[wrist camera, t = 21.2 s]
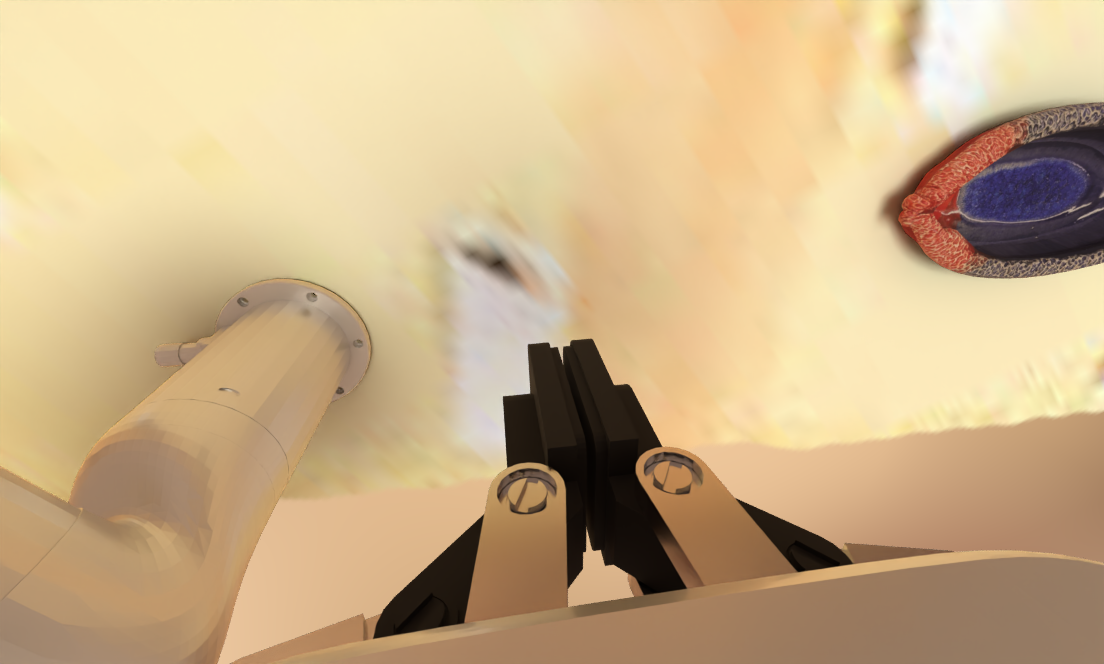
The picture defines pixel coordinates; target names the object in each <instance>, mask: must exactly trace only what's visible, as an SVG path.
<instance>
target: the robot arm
mask: <svg viewBox="0 0 1104 664" xmlns="http://www.w3.org/2000/svg"><path fill="white" fill-rule="evenodd" d="M313 293H315V294H316V295H317V296H315V295H313ZM246 299H247V300H246ZM359 340H361V341H359ZM370 355H371V345H370V340H369V335H368V333H367V330H366V328H365V325H364V323H363V322H362V320H361V319H360V317H359V316H358V314H357V313H356V312H355V311H354V310H353V309H352V308H351V307H350V306H349V304H348V303H346V302H345V301H344V300H342V299H341V298H340V297H338V296H337V295H336V294H334V293H332V292H330V291H328V290H327V289H325V288H323V287H320V286H318V285H315V284H312V283H309V282H305V281H300V280H294V279H272V280H266V281H261V282H258V283H255V284H253V285H250V286H248V287H246V288H245V289H243V290H242V291H240V292H238V293H237V294H236V295H235V296H233V297H232V298H231V299H230V300H228V302H227V303H226V304H225V306H224V307H223V308H222V310H221V311H220V313H219V316H218V318H217V321H216V326H215V334H214V335H212V336H211V337H203V338H201V339H199V340H198V341H197V343H173V344H161V345H159V346H158V347H157V348H156V350H155V360H156V362H157V364H158V365H159V366H161V367H175V366H183V367H182V368H181V369H179V370H178V371H177V372H176V373H175V374H174V375H172V376H171V377H170V378H169V379H168V380H167V381H165V382H164V383H163V384H162V385H161V386H160V387H158V388H157V389H156V390H155V391H154V392H153V393H151V394H150V395H149V396H148V397H147V398H146V399H144V400H143V401H142V402H141V403H140V404H139V405H137V406H136V407H135V408H134V409H133V410H132V411H130V412H129V413H128V414H127V415H126V416H124V417H123V418H122V419H121V420H120V421H118V422H117V423H116V424H115V425H114V426H113V427H111V428H110V429H109V430H108V431H107V432H106V433H105V434H104V435H103V436H102V437H101V438H100V439H99V440H98V442H97V443H96V444H95V445H94V447H93V448H92V449H91V451H90V452H89V454H88V455H87V456H86V458H85V460H84V462H83V464H82V466H81V468H80V470H79V472H78V474H77V476H76V479H75V481H74V484H73V488H72V491H71V495H70V498H69V502H68V503H67V502H66V501H64V500H62V499H60V498H58V497H56V496H54V495H53V494H51V493H49V492H47V491H45V490H43V489H42V488H40V487H38V486H36V485H34V484H32V483H31V482H29V481H27V480H25V479H23V478H21V477H20V476H18V475H16V474H14V473H12V472H10V471H9V470H7V469H5V468H3V467H1V466H0V664H217V663H218V660H219V657H220V654H221V651H222V648H223V645H224V642H225V639H226V635H227V631H228V628H229V624H230V621H231V617H232V613H233V609H234V606H235V602H236V599H237V595H238V592H239V589H240V586H241V583H242V580H243V577H244V574H245V571H246V569H247V566H248V563H249V561H250V558H251V556H252V554H253V552H254V549H255V547H256V545H257V543H258V540H259V538H260V536H261V534H262V532H263V530H264V528H265V526H266V524H267V522H268V520H269V518H270V516H271V514H272V512H273V510H274V508H275V506H276V504H277V502H278V500H279V498H280V496H281V494H282V492H283V491H284V489H285V487H286V485H287V483H288V481H289V479H290V477H291V476H292V474H293V472H294V470H295V468H296V466H297V464H298V462H299V460H300V458H301V457H302V455H303V453H304V451H305V449H306V447H307V445H308V443H309V441H310V440H311V438H312V436H313V434H314V432H315V430H316V428H317V426H318V424H319V422H320V421H321V419H322V417H323V415H324V413H325V411H326V409H327V407H328V405H329V403H330V402H333V401H336V400H338V399H340V398H342V397H344V396H345V395H347V394H349V393H350V392H351V391H352V390H353V389H354V388H355V387H357V385H358V384H359V383H360V381H361V380H362V378H363V377H364V375H365V372H366V370H367V368H368V365H369V361H370ZM528 360H529V377H530V394H523V395H513V396H503V406H504V422H505V438H506V454H507V469H505V470H504V471H502V472H501V473H499V474H498V475H497V476H496V478H495V479H494V480H493V481H492V483H491V486H490V489H489V492H488V498H487V503H486V508H485V514H484V515H483V516H482V517H481V518H479V519H478V520H477V521H476V522H475V523H474V524H473V525H472V526H471V527H470V528H469V529H468V530H466V531H465V532H464V533H463V534H462V535H461V536H460V537H459V538H458V539H457V540H456V541H455V542H454V543H452V544H451V545H450V546H449V547H448V548H447V549H446V550H445V551H444V552H443V553H442V554H441V555H440V556H439V557H437V558H436V559H435V560H434V561H433V562H432V563H431V564H430V565H429V566H428V567H427V568H426V569H424V570H423V571H422V572H421V573H420V574H419V575H418V576H417V577H416V578H415V579H414V580H412V582H410V583H409V584H408V585H407V586H406V587H405V588H404V589H403V590H402V591H401V592H400V593H398V594H397V595H396V596H395V597H394V598H393V599H392V601H391V602H390V603H389V604H388V605H387V606H386V608H385V609H384V610H383V612H382V614H379V615H376V616H374V617H371V618H368V619H366V620H365V618H364V615H363V614H360V615H357V616H355V617H352V618H349V619H347V620H344V621H341V622H338V623H336V624H333V625H330V626H327V627H325V628H322V629H319V630H317V631H314V632H311V633H308V634H306V635H303V636H300V637H297V638H295V639H292V640H289V641H287V642H284V643H281V644H278V645H275V646H273V647H270V648H267V649H264V650H262V651H259V652H256V653H254V654H251V655H248V656H245V657H243V658H240V659H238V660H236V661H234V662H232V663H230V664H1104V563H1102V562H1098V561H1093V560H1087V559H1082V558H1077V557H1071V556H1065V555H1060V554H1052V553H1039V552H1028V551H1017V550H995V551H994V550H989V551H987V550H986V551H984V550H982V551H964V552H953V551H948V550H933V549H920V548H906V547H892V546H878V545H865V544H851V543H844V546H843V548H842V549H839V548H838V547H836V546H835V545H834V544H833V543H831V542H829V541H827V540H826V539H824V538H822V537H820V536H818V535H816V534H814V533H812V532H809V531H807V530H805V529H802V528H800V527H798V526H796V525H794V524H792V523H789V522H787V521H785V520H783V519H780V518H778V517H776V516H774V515H772V514H769V513H767V512H765V511H763V510H760V509H758V508H756V507H754V506H752V505H749V504H747V503H745V502H742V501H740V500H738V499H736V498H734V497H733V495H731V493H730V492H729V491H728V490H727V488H726V487H725V486H724V485H723V484H722V482H721V481H720V480H719V479H718V478H717V476H716V475H715V474H714V473H713V472H712V471H711V469H710V468H709V467H708V466H707V465H706V464H705V463H704V462H703V461H702V460H701V459H700V458H699V457H697V456H696V455H694V454H692V453H690V452H688V451H685V450H682V449H679V448H673V447H662V445H661V443H660V441H659V440H658V438H657V436H656V434H655V432H654V430H653V428H652V426H651V424H650V422H649V420H648V419H647V417H646V415H645V413H644V411H643V409H642V407H641V405H640V403H639V401H638V399H637V398H636V396H635V394H634V392H633V390H632V388H631V387H630V385H628V384H624V385H614V384H613V382H612V380H611V378H610V375H609V373H608V371H607V369H606V367H605V365H604V363H603V360H602V358H601V356H600V354H599V352H598V350H597V348H596V345H595V343H594V341H593V339H583V340H572V341H571V342H570V346H565V347H563V363H562V360H561V357H560V353H559V350H558V347H554V348H550V344H549V343H537V344H528ZM586 527H587V531H588V535H589V538H590V543H591V547H592V550H593V551H596V550H601V552H602V556H603V560H604V564H605V566H607V565H615V566H617V567H618V568H620V569H622V570H623V571H625V572H626V573H628V582H629V585H630V589H631V591H632V593H633V595H634V597H631V598H624V599H618V600H611V601H605V602H598V603H591V604H585V605H579V606H572V607H568V588H569V587H570V585H571V584H572V582H573V581H574V580H575V579H576V577H577V576H578V575H579V573H580V572H581V571H582V569H583V552H586Z"/></svg>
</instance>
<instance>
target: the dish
mask: <svg viewBox="0 0 1104 664" xmlns="http://www.w3.org/2000/svg"><path fill="white" fill-rule="evenodd" d="M902 208H903V210H902V212H901V213H900V214H899V219H898V221H899V222H900V223H901V224H902V228H903V230H904V231H905V233H906V234H908V235H909V236H910V237H911V238H913V239H914V240H915V241H916V242H917V243H918V244H919V245H920V247H921V248H922V250H923V251H924V253H925V254H926V255H927V256H929V257H930V258H931V259H932V260H933V261H934V262H936V263H937V264H939V265H940V266H942V267H945V268H947V269H949V270H952V271H954V272H957V273H961V274H965V275H969V276H975V277H984V278H1027V277H1035V276H1044V275H1050V274H1055V273H1061V272H1066V271H1071V270H1075V269H1080V268H1084V267H1088V266H1092V265H1096V264H1100V263H1104V102H1102V103H1085V104H1076V105H1068V106H1062V107H1057V108H1051V109H1046V110H1043V111H1039V112H1036V113H1032V114H1029V115H1025V116H1023V117H1020V118H1018V119H1016V120H1012V121H1009V122H1006V123H1004V124H1001V125H999V126H996V127H994V128H991V129H989V130H987V131H985V132H984V133H982V134H980V135H978V136H976V137H975V138H973V139H971V140H969V141H968V142H966V143H964V144H963V145H962V146H961V147H959V148H958V149H957V150H955V151H954V152H953V153H952V154H950V155H949V156H948V157H947V158H946V159H945V160H943V161H942V162H941V163H939V164H938V165H936V166H935V167H933V168H932V169H931V170H930V171H929V172H927V173H926V175H925V176H924V177H923V179H922V180H921V182H920V183H919V185H918V187H917V188H916V190H915V192H914V193H913V194H911V195H909V196H907V197H906V198H905V199H904V201H903V203H902Z"/></svg>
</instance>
